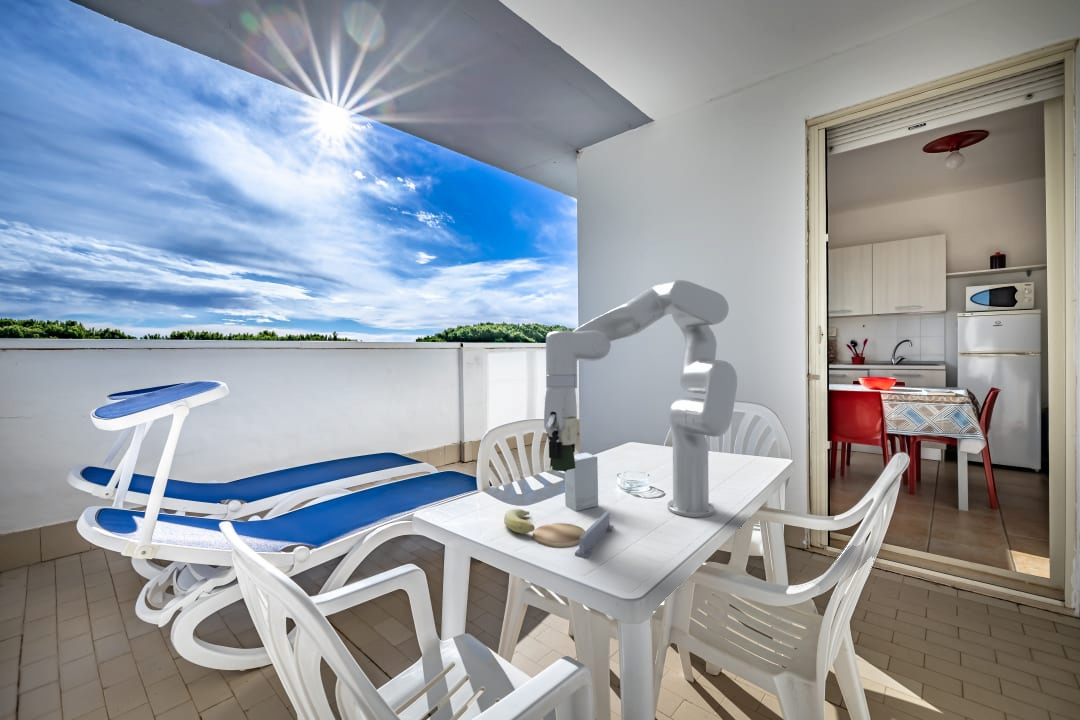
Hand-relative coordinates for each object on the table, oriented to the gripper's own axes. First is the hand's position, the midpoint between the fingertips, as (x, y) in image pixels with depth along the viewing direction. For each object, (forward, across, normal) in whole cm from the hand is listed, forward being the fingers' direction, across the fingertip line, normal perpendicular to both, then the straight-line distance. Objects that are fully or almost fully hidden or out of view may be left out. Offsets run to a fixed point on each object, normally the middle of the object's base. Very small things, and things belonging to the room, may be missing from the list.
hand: (562, 454), depth 110 cm
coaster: (+20, 0, -1) cm, 20 cm away
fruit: (+20, -1, -12) cm, 23 cm away
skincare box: (+20, -22, -4) cm, 30 cm away
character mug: (+4, 0, 0) cm, 4 cm away
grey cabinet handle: (+20, -1, +8) cm, 22 cm away
